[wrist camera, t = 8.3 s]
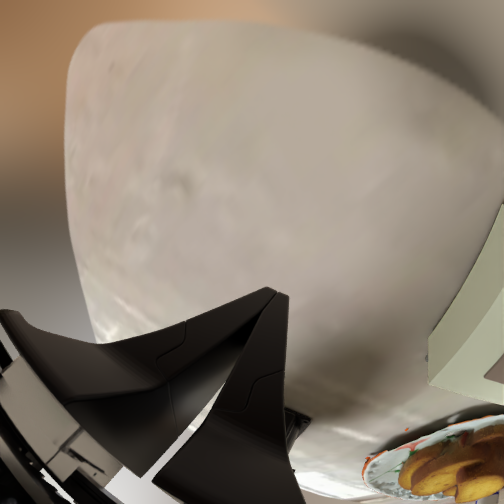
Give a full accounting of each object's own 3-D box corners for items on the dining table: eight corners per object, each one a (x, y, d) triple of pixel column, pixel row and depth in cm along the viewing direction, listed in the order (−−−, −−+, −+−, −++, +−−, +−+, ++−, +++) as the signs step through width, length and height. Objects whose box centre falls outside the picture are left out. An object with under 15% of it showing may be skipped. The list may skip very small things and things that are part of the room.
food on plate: (332, 457, 29) (315, 497, 24) (492, 371, 14) (498, 438, 9) (438, 491, 25) (431, 522, 19) (562, 428, 10) (565, 467, 5)
